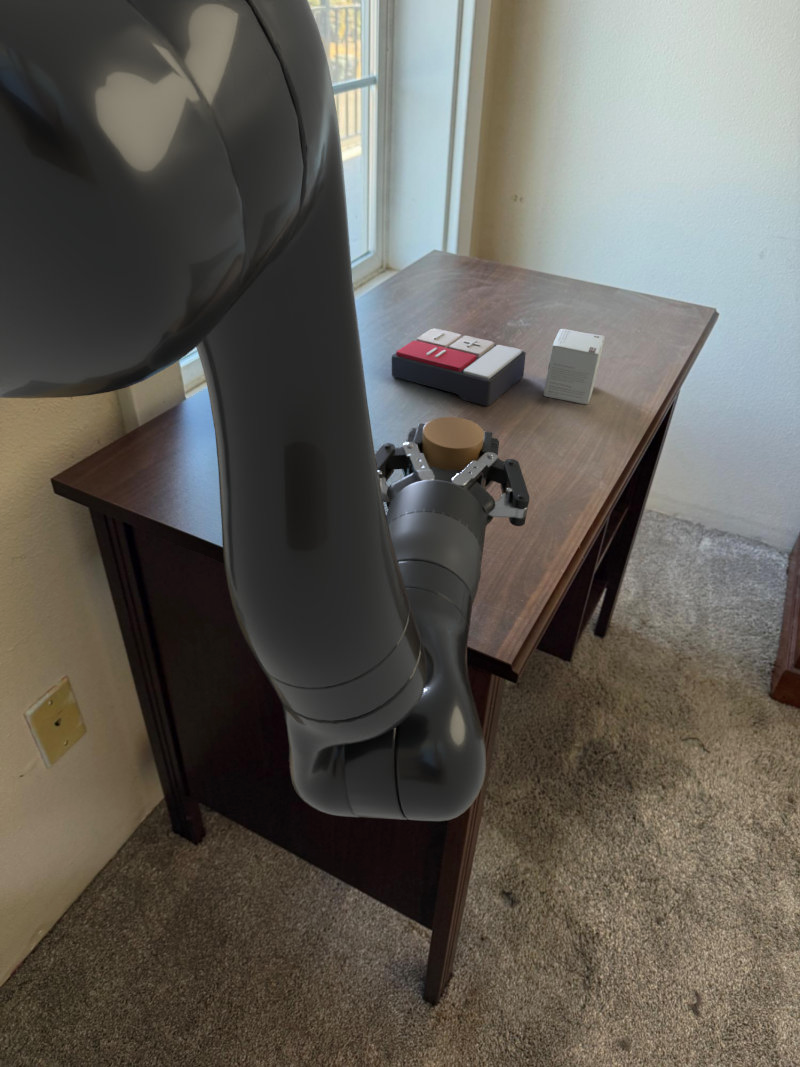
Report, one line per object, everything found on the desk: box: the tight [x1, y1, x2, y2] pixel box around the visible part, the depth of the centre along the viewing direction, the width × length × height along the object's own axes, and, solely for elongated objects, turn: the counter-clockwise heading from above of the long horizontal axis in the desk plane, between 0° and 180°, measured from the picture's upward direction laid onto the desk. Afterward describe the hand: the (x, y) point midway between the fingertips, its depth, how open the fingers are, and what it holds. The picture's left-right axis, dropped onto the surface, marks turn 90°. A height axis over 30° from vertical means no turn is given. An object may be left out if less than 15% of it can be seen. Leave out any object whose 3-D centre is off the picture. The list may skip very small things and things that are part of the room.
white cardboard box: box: [543, 328, 605, 405], centre depth 98 cm, size 6×6×7 cm
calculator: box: [391, 327, 527, 407], centre depth 101 cm, size 11×4×15 cm
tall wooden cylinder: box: [421, 416, 485, 471], centre depth 66 cm, size 5×5×10 cm
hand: (454, 436), depth 66 cm, fingers closed on tall wooden cylinder, 5 cm apart
